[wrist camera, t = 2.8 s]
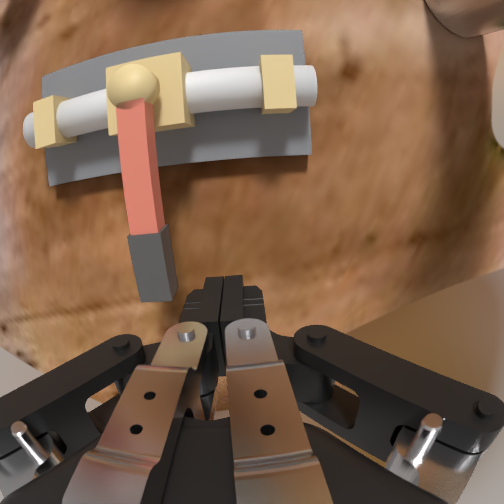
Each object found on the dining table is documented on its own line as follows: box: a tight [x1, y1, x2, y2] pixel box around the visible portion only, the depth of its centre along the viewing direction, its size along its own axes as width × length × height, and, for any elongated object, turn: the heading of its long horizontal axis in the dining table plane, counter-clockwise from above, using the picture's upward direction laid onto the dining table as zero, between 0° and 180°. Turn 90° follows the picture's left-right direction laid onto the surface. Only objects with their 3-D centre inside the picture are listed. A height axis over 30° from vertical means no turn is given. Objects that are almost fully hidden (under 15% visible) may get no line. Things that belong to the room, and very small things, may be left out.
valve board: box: [23, 30, 317, 186], centre depth 22 cm, size 26×12×7 cm, turn 94°
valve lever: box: [107, 64, 178, 302], centre depth 20 cm, size 17×3×2 cm, turn 4°
